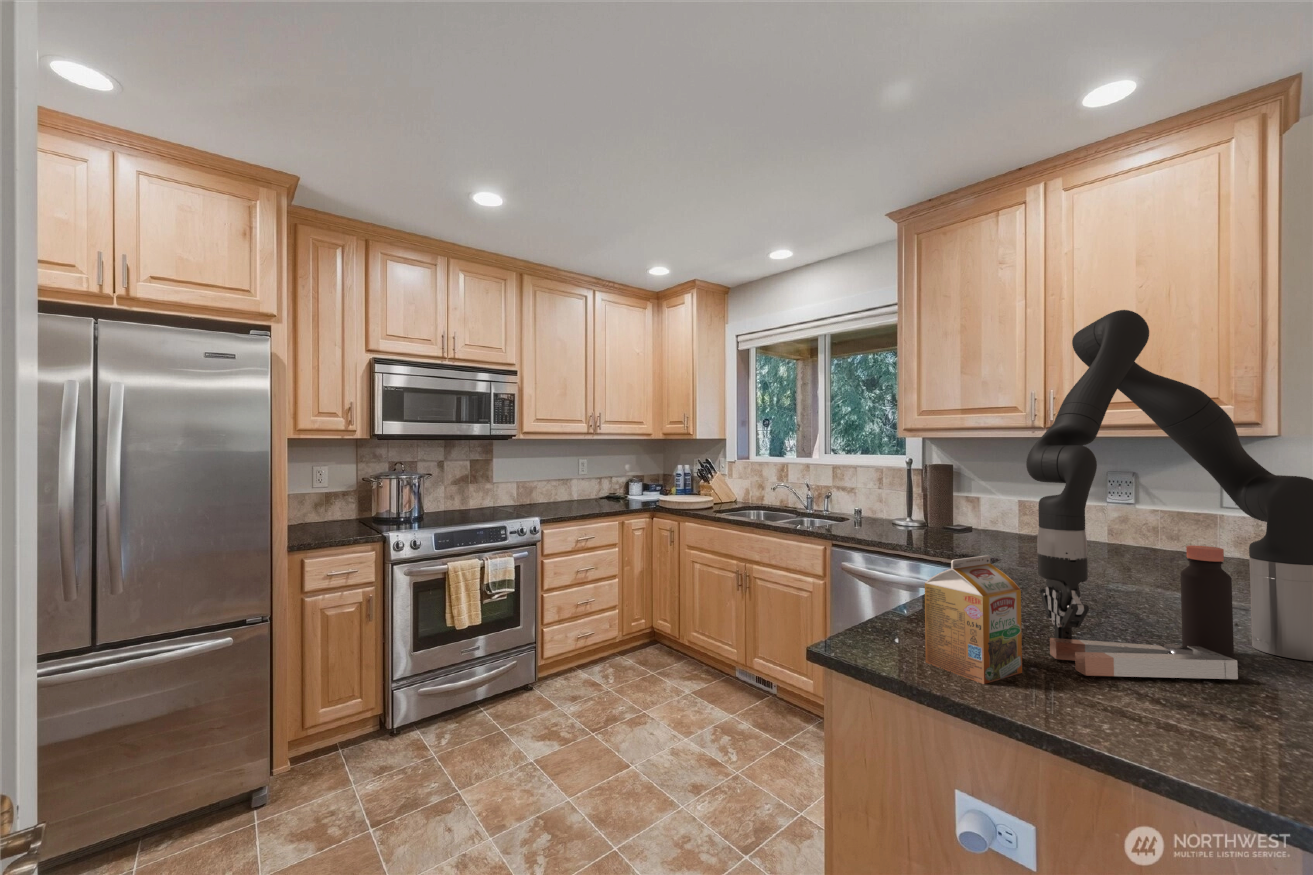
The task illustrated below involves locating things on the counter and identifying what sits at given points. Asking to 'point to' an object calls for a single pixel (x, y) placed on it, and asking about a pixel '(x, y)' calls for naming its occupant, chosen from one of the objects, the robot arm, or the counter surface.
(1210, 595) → the bottle
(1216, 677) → the tongs fixed leg
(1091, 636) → the counter surface
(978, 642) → the milk carton
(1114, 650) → the leg
